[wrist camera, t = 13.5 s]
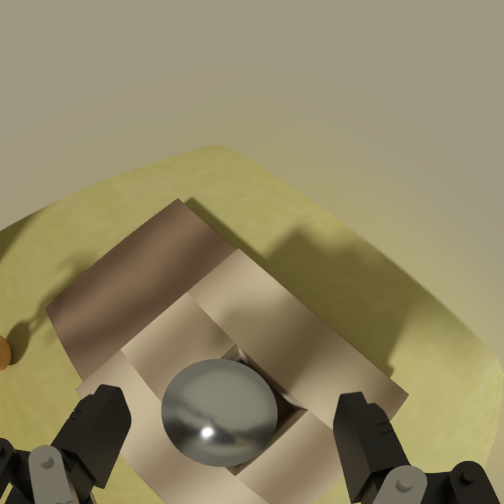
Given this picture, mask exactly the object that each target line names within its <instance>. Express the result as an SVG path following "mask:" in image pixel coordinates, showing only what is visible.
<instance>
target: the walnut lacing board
mask: <svg viewBox="0 0 504 504" xmlns="http://www.w3.org/2000/svg"><path fill="white" fill-rule="evenodd" d="M235 251H236V249H235V248H233V247H232V246H231V245H230V244H229V243H228V242H227V241H226V240H224V239H223V238H222V237H221V236H220V235H219V234H218V233H216V232H215V231H214V230H213V229H212V228H211V227H210V226H209V225H207V224H206V223H205V222H204V221H203V220H202V219H201V218H200V217H198V216H197V215H196V214H195V213H194V212H193V211H192V210H190V209H189V208H188V207H187V206H186V205H185V204H184V203H183V202H181V201H180V200H179V199H176V200H175V201H174V202H172V203H171V204H169V205H168V206H167V207H165V208H164V209H163V210H161V211H160V212H159V213H157V214H156V215H155V216H153V217H152V218H151V219H149V220H148V221H147V222H145V223H144V224H143V225H141V226H140V227H139V228H138V229H136V230H135V231H134V232H132V233H131V234H130V235H129V236H127V237H126V238H125V239H124V240H122V241H121V242H120V243H119V244H117V245H116V246H115V247H114V248H113V249H111V250H110V251H109V252H108V253H107V254H105V255H104V256H103V257H102V258H101V259H99V260H98V261H97V262H96V263H95V264H94V265H92V266H91V267H90V268H89V269H88V270H87V271H85V272H84V273H83V274H82V275H81V276H80V277H79V278H78V279H76V280H75V281H74V282H73V283H72V284H71V285H70V286H69V287H68V288H66V289H65V290H64V291H63V292H62V293H61V294H60V295H59V296H58V297H57V298H56V299H55V300H54V301H53V302H51V303H50V304H49V305H48V306H47V307H46V308H45V309H46V311H47V314H48V316H49V318H50V320H51V322H52V325H53V327H54V329H55V331H56V333H57V335H58V337H59V339H60V341H61V343H62V345H63V347H64V349H65V351H66V353H67V355H68V357H69V358H70V360H71V362H72V364H73V366H74V367H75V369H76V371H77V373H78V374H79V376H80V378H81V379H82V381H83V382H84V381H85V380H86V379H87V378H88V377H89V376H90V375H92V374H93V373H94V372H95V371H96V370H97V369H98V368H100V367H101V366H102V365H103V364H104V363H105V362H106V361H108V360H109V359H110V358H111V357H112V356H113V355H114V354H116V353H117V352H118V351H119V350H120V349H121V348H122V347H124V346H125V345H126V344H127V343H128V342H129V341H130V340H132V339H133V338H134V337H135V336H136V335H137V334H139V333H140V332H141V331H142V330H143V329H144V328H145V327H147V326H148V325H149V324H150V323H151V322H152V321H154V320H155V319H156V318H157V317H158V316H159V315H161V314H162V313H163V312H164V311H165V310H166V309H168V308H169V307H170V306H171V305H172V304H173V303H175V302H176V301H177V300H178V299H179V298H180V297H182V296H183V295H184V294H185V293H186V292H187V291H189V290H190V289H191V288H192V287H193V286H194V285H196V284H197V283H198V282H199V281H200V280H201V279H203V278H204V277H205V276H206V275H207V274H209V273H210V272H211V271H212V270H213V269H214V268H216V267H217V266H218V265H219V264H220V263H221V262H223V261H224V260H225V259H226V258H227V257H229V256H230V255H231V254H232V253H233V252H235ZM239 363H241V364H243V365H245V366H247V365H246V364H245V363H244V362H243V361H240V362H239ZM268 386H269V385H268ZM269 387H270V386H269ZM270 389H271V391H272V393H273V395H274V398H275V401H276V405H277V424H276V426H277V425H278V424H279V423H280V422H281V421H282V420H283V419H284V418H285V417H286V416H287V415H288V414H289V413H290V412H291V411H292V410H293V409H294V408H293V407H292V406H291V405H290V404H289V403H287V402H286V401H285V400H284V399H283V398H282V397H281V396H280V395H278V394H277V393H276V392H275V391H274V390H273V389H272V388H271V387H270Z"/></svg>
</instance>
